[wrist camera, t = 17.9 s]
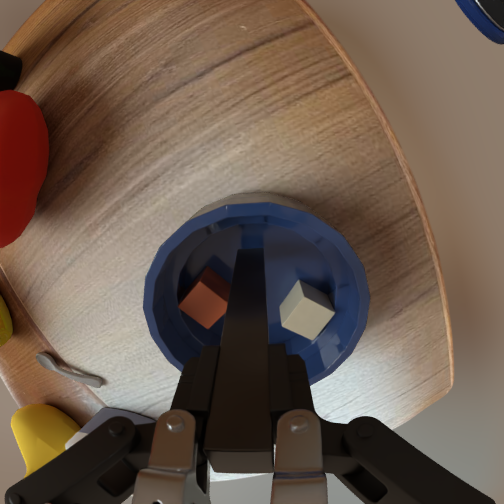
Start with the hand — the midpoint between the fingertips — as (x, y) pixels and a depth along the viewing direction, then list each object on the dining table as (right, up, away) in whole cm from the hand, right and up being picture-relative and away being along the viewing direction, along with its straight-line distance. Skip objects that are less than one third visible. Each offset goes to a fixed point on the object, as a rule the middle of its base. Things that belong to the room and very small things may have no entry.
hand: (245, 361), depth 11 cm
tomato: (-25, +14, +10) cm, 31 cm away
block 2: (+5, 0, +13) cm, 14 cm away
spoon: (-26, -12, +19) cm, 35 cm away
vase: (-38, -30, +26) cm, 55 cm away
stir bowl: (+1, +2, +14) cm, 14 cm away
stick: (0, +4, +10) cm, 11 cm away
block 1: (-3, +1, +13) cm, 14 cm away
